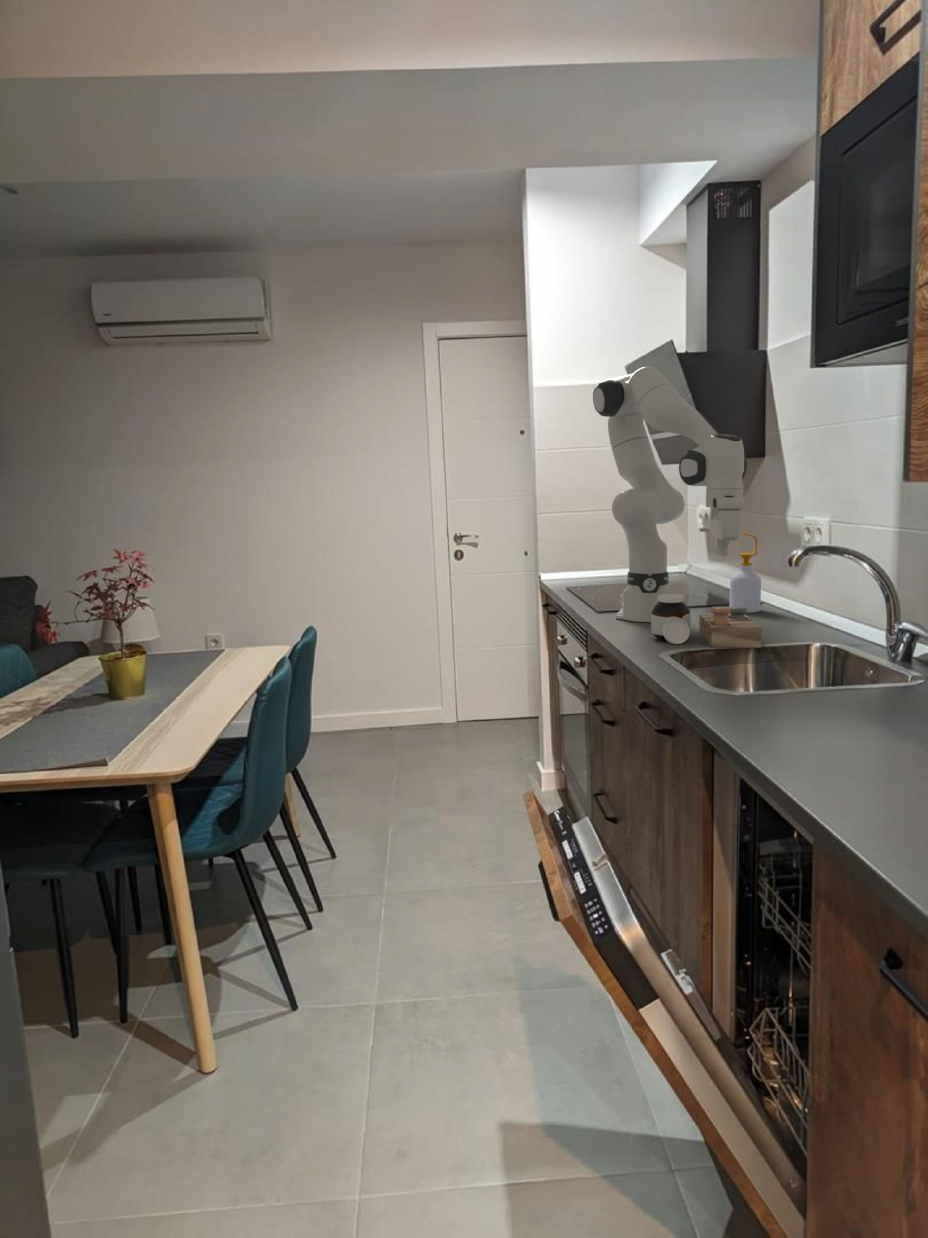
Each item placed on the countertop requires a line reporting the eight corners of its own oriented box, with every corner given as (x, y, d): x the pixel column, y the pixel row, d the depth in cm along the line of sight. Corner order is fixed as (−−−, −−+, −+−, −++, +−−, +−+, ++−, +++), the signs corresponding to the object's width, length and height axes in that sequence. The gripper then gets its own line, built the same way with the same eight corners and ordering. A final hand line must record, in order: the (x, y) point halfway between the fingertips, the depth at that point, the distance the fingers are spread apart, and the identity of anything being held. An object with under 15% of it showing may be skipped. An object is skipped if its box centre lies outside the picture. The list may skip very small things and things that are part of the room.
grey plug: (726, 632, 228) (726, 606, 227) (744, 631, 227) (745, 606, 226) (729, 635, 223) (730, 609, 222) (748, 635, 223) (749, 609, 221)
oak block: (699, 632, 232) (699, 614, 231) (744, 631, 230) (744, 613, 229) (711, 647, 212) (712, 628, 211) (761, 647, 211) (761, 627, 210)
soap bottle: (728, 608, 268) (731, 530, 264) (759, 608, 266) (761, 530, 261) (729, 612, 260) (732, 532, 255) (761, 613, 257) (764, 532, 253)
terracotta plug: (709, 633, 219) (709, 606, 218) (728, 633, 219) (728, 606, 218) (712, 636, 215) (712, 609, 214) (731, 636, 214) (732, 609, 213)
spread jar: (672, 634, 230) (673, 592, 228) (705, 640, 221) (706, 596, 219) (641, 640, 223) (641, 596, 221) (673, 647, 214) (674, 601, 212)
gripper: (704, 498, 221) (702, 551, 224) (718, 502, 201) (716, 560, 204) (729, 497, 221) (727, 550, 223) (745, 501, 201) (743, 559, 203)
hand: (722, 555), depth 213 cm, fingers closed
